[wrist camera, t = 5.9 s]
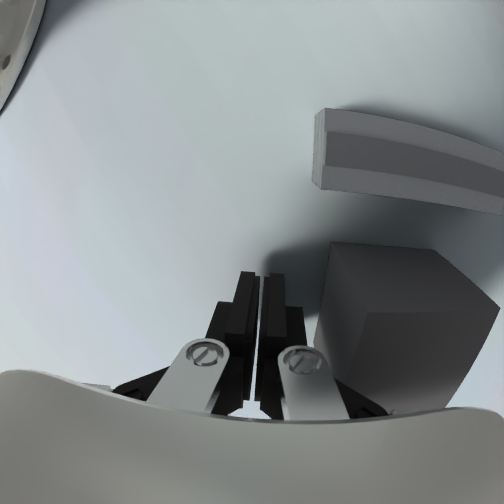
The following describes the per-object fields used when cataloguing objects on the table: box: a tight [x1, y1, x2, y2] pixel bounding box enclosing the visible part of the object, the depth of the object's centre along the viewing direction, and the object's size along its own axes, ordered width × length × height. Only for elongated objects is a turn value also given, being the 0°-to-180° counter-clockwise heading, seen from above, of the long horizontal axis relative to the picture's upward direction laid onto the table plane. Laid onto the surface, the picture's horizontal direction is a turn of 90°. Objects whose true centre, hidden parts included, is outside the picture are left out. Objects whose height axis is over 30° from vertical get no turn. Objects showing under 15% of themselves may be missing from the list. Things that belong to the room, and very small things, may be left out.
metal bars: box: [312, 108, 504, 216], centre depth 10 cm, size 14×8×2 cm, turn 178°
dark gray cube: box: [314, 242, 500, 412], centre depth 9 cm, size 5×5×5 cm
